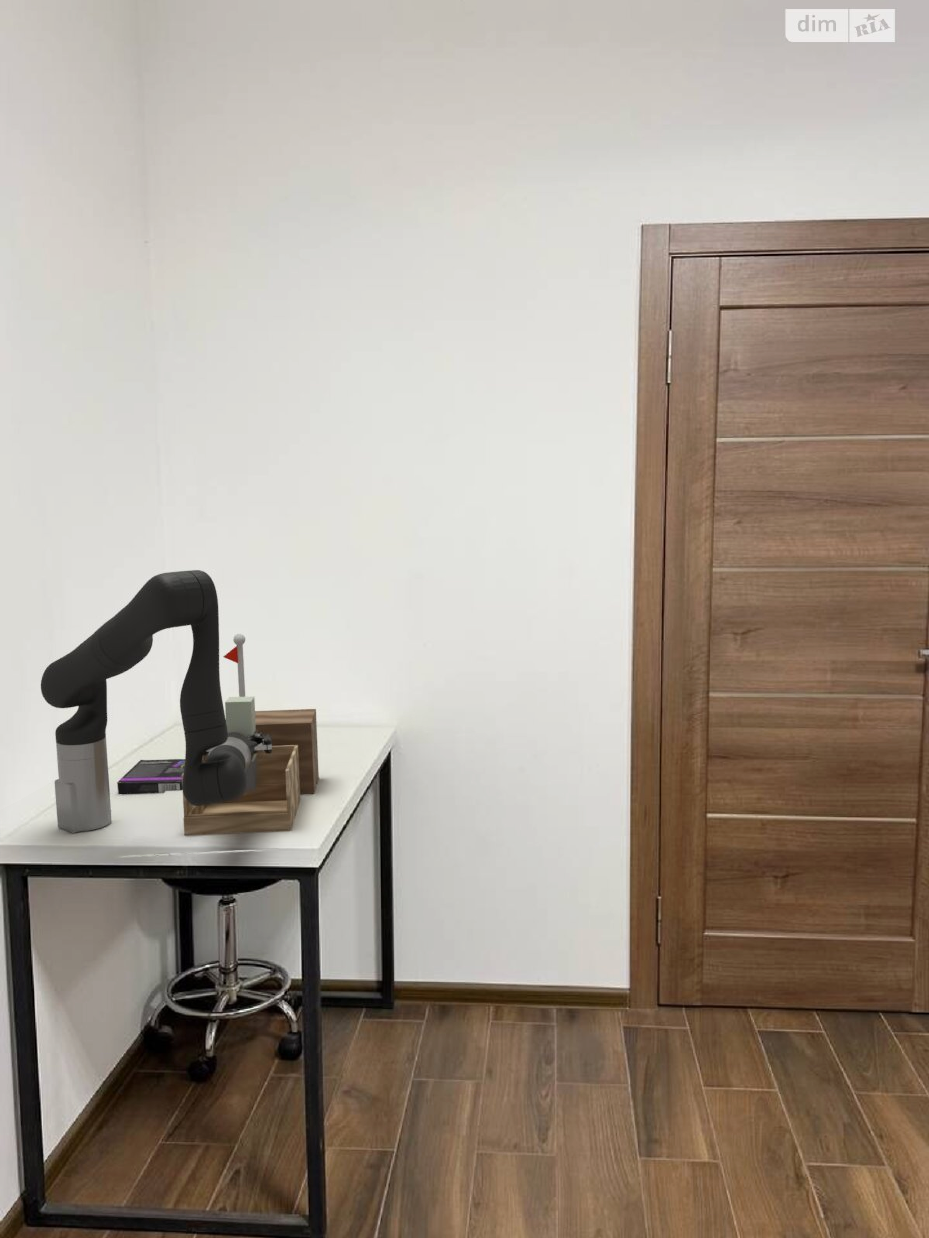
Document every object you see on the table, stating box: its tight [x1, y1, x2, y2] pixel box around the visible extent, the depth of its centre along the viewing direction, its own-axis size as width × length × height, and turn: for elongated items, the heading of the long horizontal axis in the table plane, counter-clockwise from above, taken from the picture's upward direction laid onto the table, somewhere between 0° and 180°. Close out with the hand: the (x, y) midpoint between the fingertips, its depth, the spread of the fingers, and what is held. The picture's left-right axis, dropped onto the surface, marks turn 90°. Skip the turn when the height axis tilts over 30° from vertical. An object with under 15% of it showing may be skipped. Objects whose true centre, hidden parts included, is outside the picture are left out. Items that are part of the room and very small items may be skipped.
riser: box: [255, 708, 320, 796], centre depth 224 cm, size 14×14×16 cm
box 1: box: [116, 758, 185, 795], centre depth 233 cm, size 14×4×20 cm
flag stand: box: [223, 633, 246, 697], centre depth 256 cm, size 13×13×30 cm
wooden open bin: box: [181, 745, 301, 836], centre depth 204 cm, size 21×20×12 cm
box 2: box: [224, 696, 258, 791], centre depth 203 cm, size 5×5×18 cm
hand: (243, 735), depth 205 cm, fingers closed on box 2, 5 cm apart
